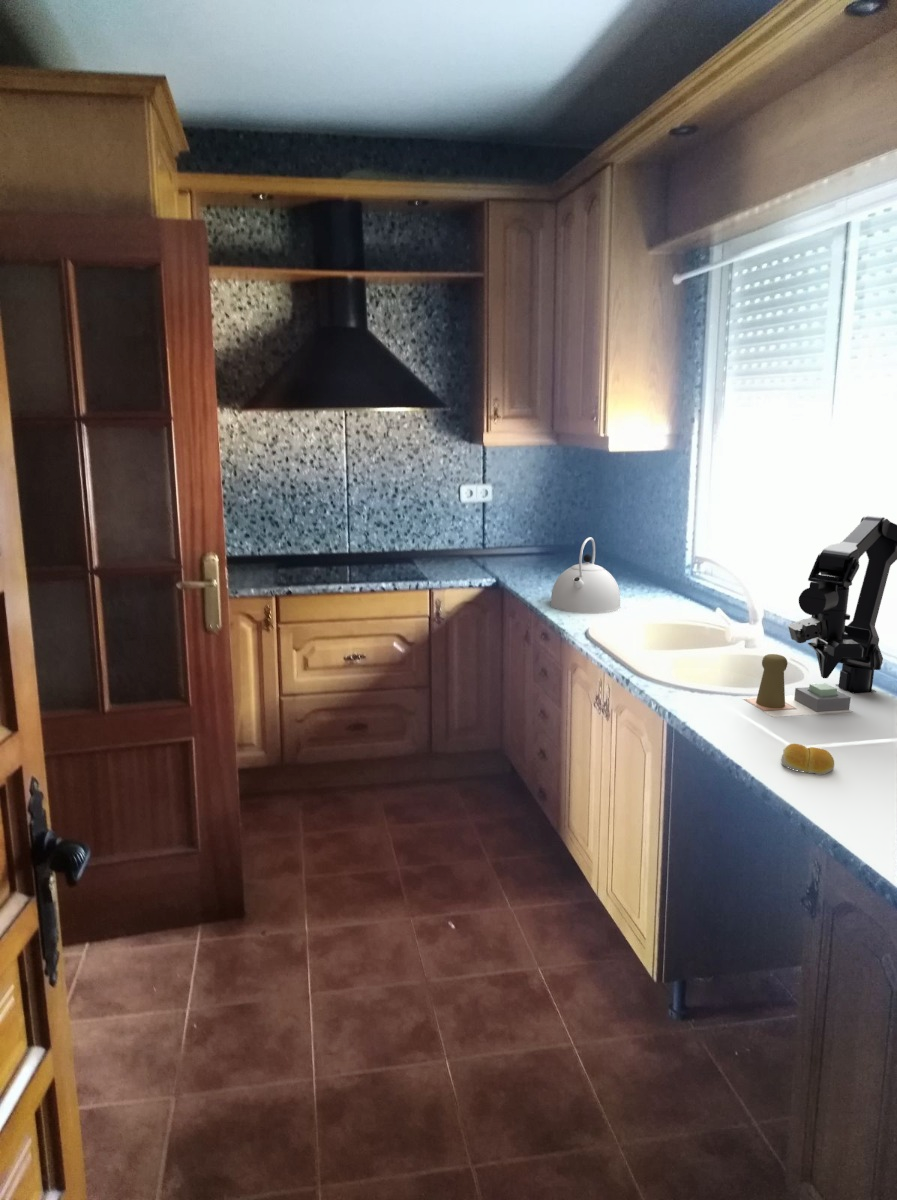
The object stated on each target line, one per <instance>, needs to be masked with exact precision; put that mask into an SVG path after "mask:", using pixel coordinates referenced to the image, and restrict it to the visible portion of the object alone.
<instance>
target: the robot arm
mask: <svg viewBox="0 0 897 1200" xmlns="http://www.w3.org/2000/svg"><path fill="white" fill-rule="evenodd" d="M865 553H866V556H867V559H868V560H867V561H868V562H867V565H866V568H865V569H866V570H865V572H864V573H865V574H864V576H863V580H862V584H861V587H860V592H859V595H858V599H857V603H856V606H855V607H856V608H855V611H854V614H853V618H852V620H851V621H850V622H849V623H848V624H847V625H846V621H849V620H850V619H851V615H850V614H849V613H847V611H848V604H849V603H848V601H849V592H850V587H851V586H853V581H854V578H855V576H856V574H857V572H858V571H859V569H860V562H859V561H860V560H859V559H860V558H861V557H862V556H863V555H864V554H865ZM896 561H897V523H894V522H892V521H890V520H889V519H888V518H885V517H884V516H882V517H881V516H873V515H866V516H863V517H862V518H861V520H860V523H859V524H858V525H857V526H856V527H854V529H853V530H852V531H851V532H850V533H849V534H848V535H847V536H846V537H845V538H844V539H843V540H842V541H840V542H839V543H835V544H830V545H828V546H826V547H825V548H823V549H822V550H821V552H820V553H819V554H818V555H817V557H816V558H815V562H814V564H813V566H812V569H811V571H810V574H809V576H808V578H807V581H808V582H809V587H808V588H805V589H803V590H802V592H801V593H800V595H799V596H798V605H799V608H800V609H801V611H803V612H804V613H805V614H807V615H810V616H811V617H807V618H804V619H801V620H799V621H798V620H797V621H794V622H792V623H790V624H788V625H787V628H788V631H789V634H790V635H789V636H790V638H791V640H794V641H795V642H796V643H797V644H803V643H806V642H807V641H810V640H811V642H807V645H808V646H809V647H810V648H812V649H813V650H814V651H815V653H816V658H817V662H818V668H819V672H820V676H821V678H823V679H828V678H829V677H830V675H831V674H832V672H833V671H834V670H835V668H836V667H837V665H838V664H841V666H842V667H841V670H840V671H839V680H838V683H837V684H835V687H838V688H839V689H841V690H844V691H847V692H849V693H851V694H865V693H876V692H877V691H876V690H875V689H873V684H874V673H875V671H880V670H881V669H882V665H883V661H884V657H883V654H882V652H881V649H880V647H879V643H880V637H879V634H878V632H877V631H878V630H877V629H876V623H877V618H878V616H879V615H878V614H879V612H880V611H879V610H880V607H881V603H882V600H883V595H884V592H885V589H886V585H887V581H888V576H889V573H890V570H891V567H892V566H891V565H893V564H894V563H895V562H896Z"/></svg>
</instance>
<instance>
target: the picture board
mask: <svg viewBox="0 0 897 1200" xmlns="http://www.w3.org/2000/svg"><path fill="white" fill-rule="evenodd" d="M851 698H852V697H851V696H849V695H847V694H844V693H842V691H841V692H840V691H839V690H837V696H825V697H819V696H817V695H815V694H813V693H811V692H809V686H806V687H795V690H794V694H792V695H785V707H783V708H768V707H764V706H761V705H758V704H757V703H756V700H757V697H749V698H747V697H744V698H743V700H744V701H745V702H747V703H748V704H750V705H752V706H754V707H755V708H757V709H758V710H760V711H762V712H764V713H765V714H767V715H768V716H770V717H771V718H781V717H796V716H809V715H810V716H811V715H821V714H823V715H825V714H836V713H837V714H838V713H850V712H853V711H852V710H850V707H851V706H850V705H851Z"/></svg>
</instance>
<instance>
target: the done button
mask: <svg viewBox="0 0 897 1200" xmlns="http://www.w3.org/2000/svg"><path fill="white" fill-rule="evenodd" d="M808 687H809V692H811V693H813V694H815V695H817V696H819V697H825V696H837V691H838V688H836V687H834V686H832V685H830V684H828V683H826V682H825V683H810V684H809V686H808Z"/></svg>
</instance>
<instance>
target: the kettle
mask: <svg viewBox="0 0 897 1200" xmlns="http://www.w3.org/2000/svg"><path fill="white" fill-rule="evenodd" d="M588 541H590V542H591V544H592V555H590V553H589V554H587V553H586V554H584V556H583V551H584V548H585V546H586V544H587V542H588ZM595 559H596V543H595V540H594V538H593V537H590V536H588V537H587V538H586V539H584V540H583V543H582V544H581V547H580V551H579V560H578V563H577V564H573V565H572V566H570V567H569V568H567V569H564V571H563V572H562V573H561V574H559V576H558V577H557V579H555V582H554V584H553V586H552V590H551V597H550V606H551V607H552V608H554V609H557V610H560V611H565V612H568V613H569V612H570V613H577V614H607V613H614V612H616V610H617V611H618V609H619V608H620V609H621V593H620V588H619V584H618V582H617V580H616V579H615V577H614V576H613V575H612V574H611V573H610V572H609V570H606V568H604V567H603V566H600V565H598V564H595ZM582 560H583V561H584V562H583V561H582ZM590 562H591V563H590ZM620 609H619V610H620ZM613 611H614V612H613Z"/></svg>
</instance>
